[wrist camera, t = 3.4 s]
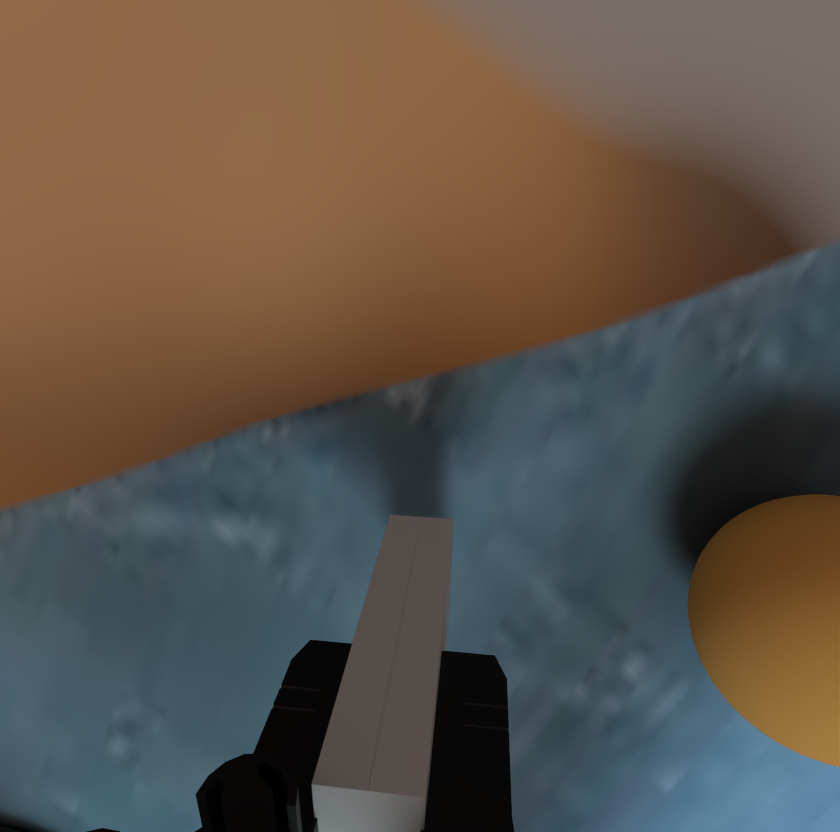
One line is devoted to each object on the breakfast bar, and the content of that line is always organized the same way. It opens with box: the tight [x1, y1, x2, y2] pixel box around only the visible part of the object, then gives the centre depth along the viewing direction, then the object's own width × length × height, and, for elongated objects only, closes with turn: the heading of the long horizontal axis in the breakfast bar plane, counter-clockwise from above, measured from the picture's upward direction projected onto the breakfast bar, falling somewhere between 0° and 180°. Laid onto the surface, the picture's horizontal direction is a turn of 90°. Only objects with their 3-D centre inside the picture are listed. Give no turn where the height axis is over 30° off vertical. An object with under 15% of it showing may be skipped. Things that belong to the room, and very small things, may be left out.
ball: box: [688, 494, 840, 767], centre depth 13 cm, size 6×6×6 cm
